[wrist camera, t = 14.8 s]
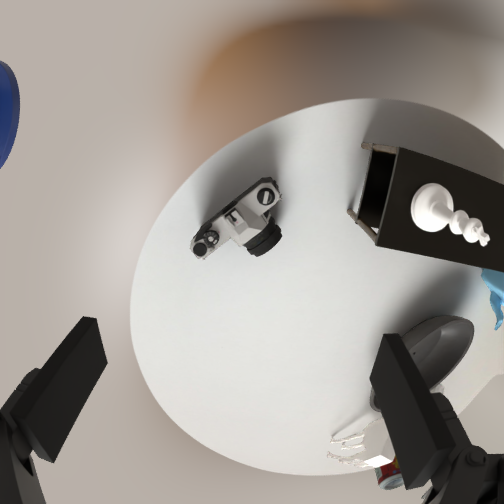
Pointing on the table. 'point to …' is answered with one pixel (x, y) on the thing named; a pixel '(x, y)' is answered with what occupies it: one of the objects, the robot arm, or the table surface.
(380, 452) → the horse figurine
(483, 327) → the table surface
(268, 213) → the camera
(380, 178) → the rack
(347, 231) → the table surface
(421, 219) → the chess piece
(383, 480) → the soda can
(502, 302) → the teapot
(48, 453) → the robot arm
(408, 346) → the bowl
